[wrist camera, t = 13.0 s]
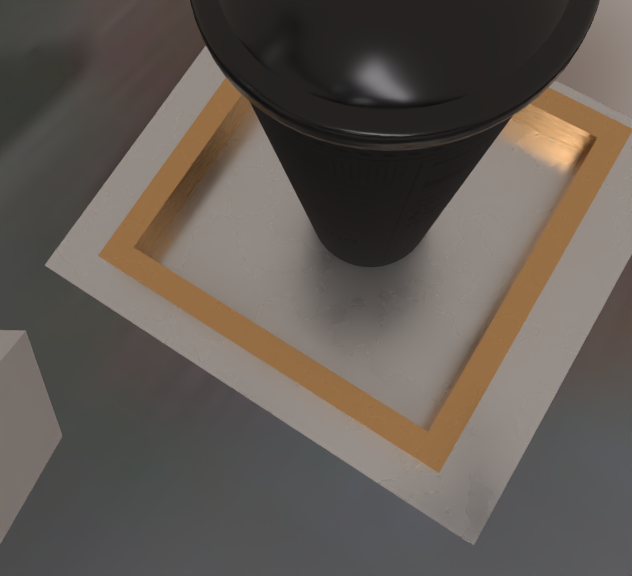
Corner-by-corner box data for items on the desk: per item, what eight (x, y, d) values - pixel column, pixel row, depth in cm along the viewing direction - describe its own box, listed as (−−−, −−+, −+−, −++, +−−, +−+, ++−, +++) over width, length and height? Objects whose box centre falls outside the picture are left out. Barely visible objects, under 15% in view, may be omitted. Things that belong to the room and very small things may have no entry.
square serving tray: (86, 286, 28) (24, 255, 23) (318, -38, 31) (311, -132, 26) (454, 526, 25) (482, 555, 19) (669, 135, 28) (744, 67, 23)
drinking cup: (376, 91, 25) (461, -1039, 6) (504, 216, 24) (1228, -757, 4) (239, 203, 24) (-206, -660, 5) (361, 341, 23) (421, -132, 3)
